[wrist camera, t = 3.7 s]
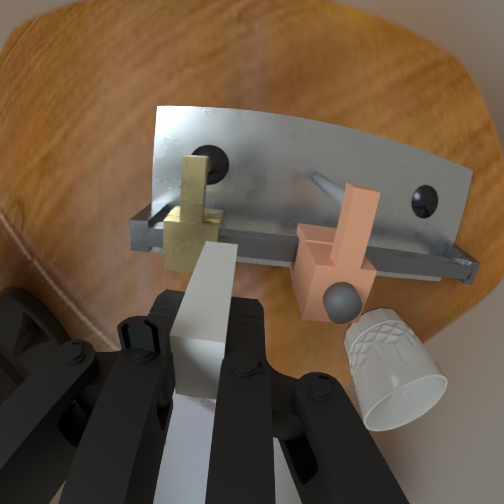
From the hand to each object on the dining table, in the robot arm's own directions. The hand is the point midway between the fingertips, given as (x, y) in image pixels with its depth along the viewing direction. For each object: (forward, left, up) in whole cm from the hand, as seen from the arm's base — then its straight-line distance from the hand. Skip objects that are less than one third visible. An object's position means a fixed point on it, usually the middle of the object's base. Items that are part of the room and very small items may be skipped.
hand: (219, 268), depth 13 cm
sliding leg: (+6, +2, -7) cm, 9 cm away
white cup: (+16, -11, -9) cm, 21 cm away
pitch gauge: (+7, +2, -9) cm, 11 cm away
